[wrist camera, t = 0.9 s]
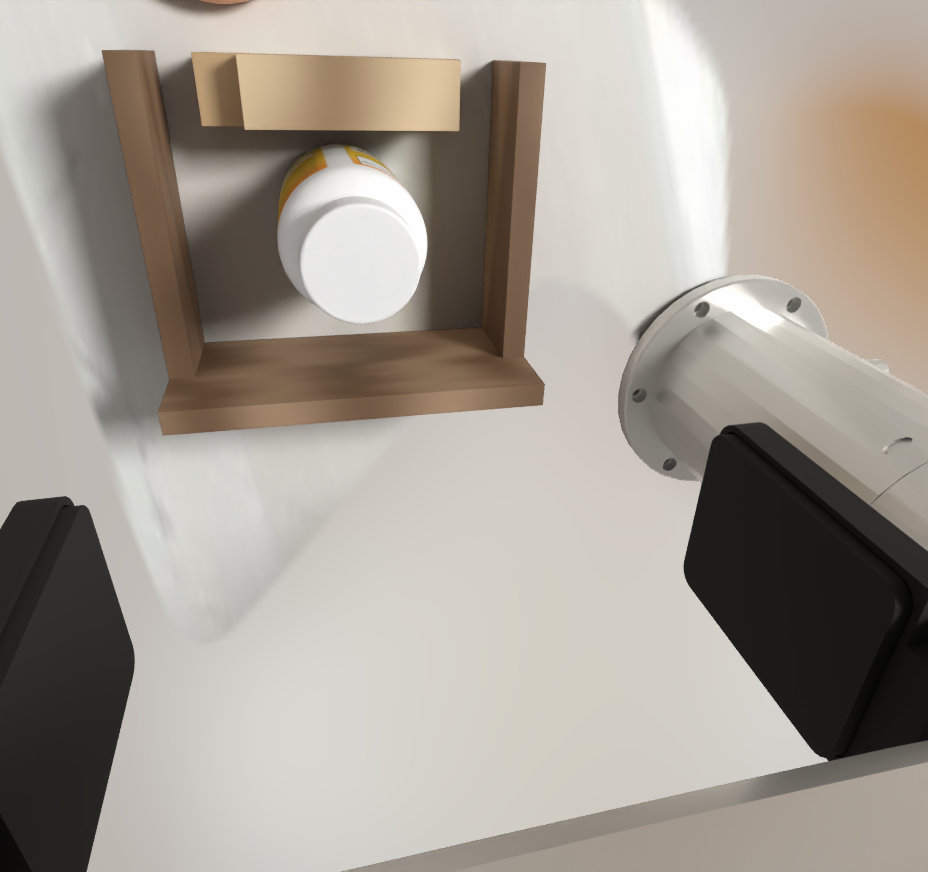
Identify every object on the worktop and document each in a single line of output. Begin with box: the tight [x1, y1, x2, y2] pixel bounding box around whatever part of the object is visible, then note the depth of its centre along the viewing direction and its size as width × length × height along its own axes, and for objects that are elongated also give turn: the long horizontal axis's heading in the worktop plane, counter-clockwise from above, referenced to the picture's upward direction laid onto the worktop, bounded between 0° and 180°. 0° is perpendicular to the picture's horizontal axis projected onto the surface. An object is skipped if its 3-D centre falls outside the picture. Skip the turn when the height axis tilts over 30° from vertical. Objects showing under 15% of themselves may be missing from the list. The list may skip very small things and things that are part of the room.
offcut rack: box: [102, 50, 546, 436], centre depth 28 cm, size 15×13×7 cm
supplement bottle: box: [277, 144, 427, 324], centre depth 26 cm, size 5×5×10 cm
